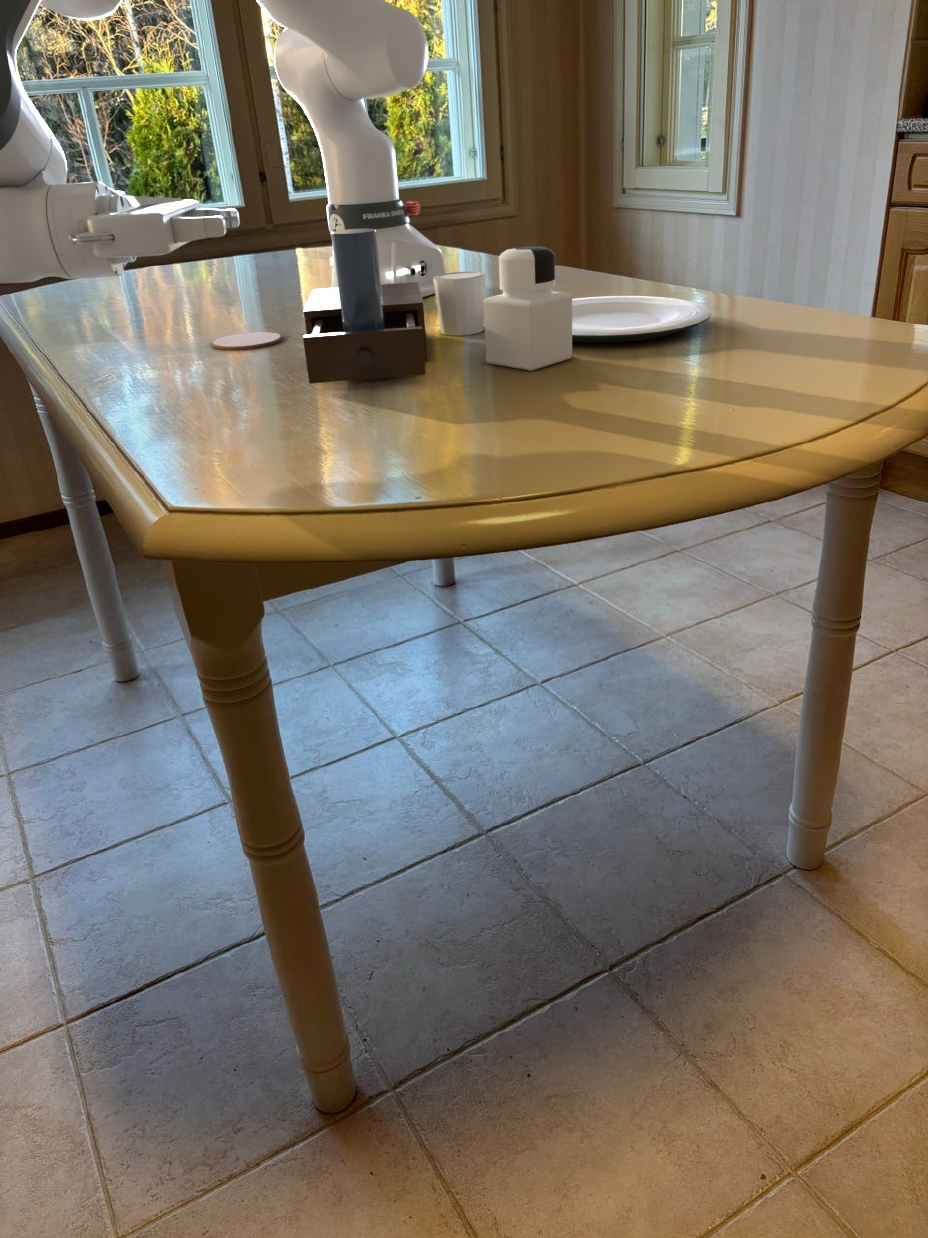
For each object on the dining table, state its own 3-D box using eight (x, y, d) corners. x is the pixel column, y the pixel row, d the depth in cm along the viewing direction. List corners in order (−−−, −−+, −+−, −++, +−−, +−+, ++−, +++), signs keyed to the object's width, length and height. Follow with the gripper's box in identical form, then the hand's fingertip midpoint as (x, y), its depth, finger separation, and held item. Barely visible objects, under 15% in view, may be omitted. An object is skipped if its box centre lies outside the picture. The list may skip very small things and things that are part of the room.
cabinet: (427, 361, 105) (423, 302, 102) (311, 369, 104) (303, 310, 101) (422, 334, 118) (418, 281, 115) (319, 341, 118) (312, 289, 115)
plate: (649, 302, 129) (650, 288, 128) (750, 333, 108) (752, 317, 107) (486, 323, 123) (485, 308, 122) (559, 359, 102) (559, 342, 101)
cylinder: (370, 351, 102) (357, 227, 96) (396, 356, 99) (384, 228, 93) (338, 359, 99) (322, 232, 93) (364, 365, 96) (349, 234, 90)
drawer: (426, 377, 94) (422, 330, 92) (308, 386, 94) (301, 339, 92) (420, 345, 108) (417, 304, 106) (317, 353, 108) (312, 312, 105)
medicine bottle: (526, 351, 106) (524, 242, 101) (573, 358, 102) (573, 245, 96) (484, 363, 102) (479, 250, 96) (531, 371, 98) (529, 253, 92)
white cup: (482, 335, 115) (480, 278, 112) (431, 336, 117) (427, 280, 113) (492, 324, 121) (489, 270, 118) (442, 325, 123) (439, 271, 119)
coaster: (257, 332, 126) (256, 329, 126) (294, 339, 120) (293, 336, 120) (200, 344, 121) (200, 341, 120) (236, 352, 115) (236, 349, 115)
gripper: (52, 203, 80) (208, 193, 81) (113, 190, 98) (240, 182, 99) (71, 277, 83) (221, 267, 84) (126, 252, 101) (249, 244, 102)
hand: (231, 221), depth 91 cm, fingers open, 8 cm apart
